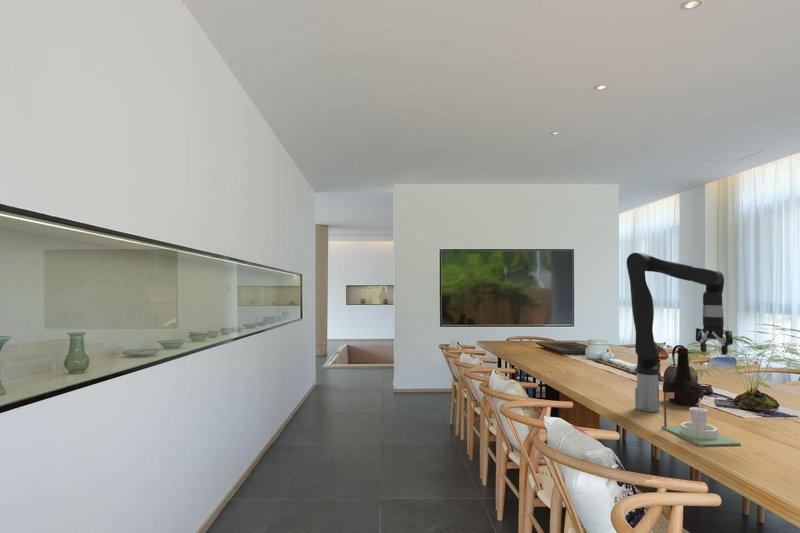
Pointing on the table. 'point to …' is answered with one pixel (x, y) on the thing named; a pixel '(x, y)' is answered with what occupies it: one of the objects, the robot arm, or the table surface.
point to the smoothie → (698, 417)
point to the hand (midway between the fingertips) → (713, 353)
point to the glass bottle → (683, 383)
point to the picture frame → (725, 403)
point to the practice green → (696, 431)
